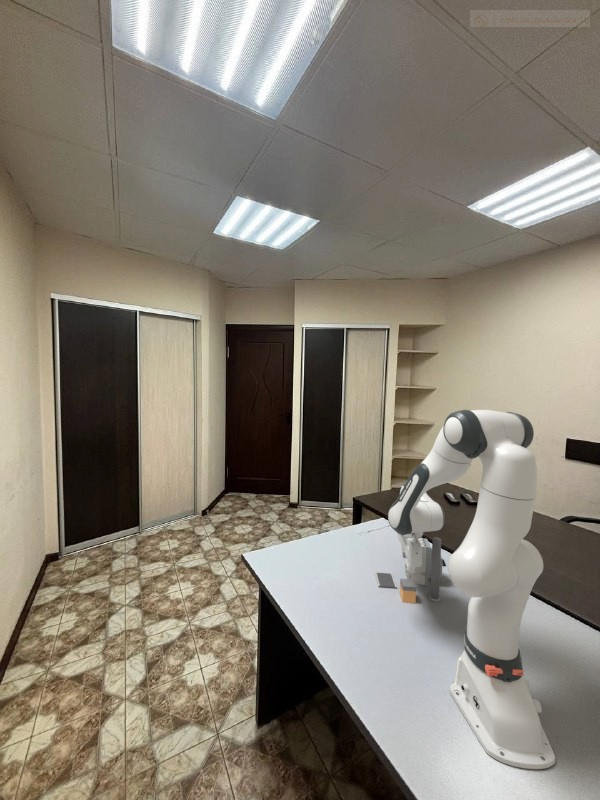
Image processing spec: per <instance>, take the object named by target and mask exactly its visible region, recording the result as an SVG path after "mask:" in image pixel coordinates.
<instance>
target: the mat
mask: <svg viewBox="0 0 600 800" xmlns="http://www.w3.org/2000/svg"><path fill="white" fill-rule="evenodd" d="M374 575H375V580H376V583H377V586H378V588H381V589H382V588H386V589H396V590H397V589H398V586H397V584H396V583H397V582H396V580H395V578H394V575H393V573H388V572H387V573H386V572H374Z"/></svg>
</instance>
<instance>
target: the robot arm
mask: <svg viewBox="0 0 600 800" xmlns="http://www.w3.org/2000/svg"><path fill="white" fill-rule="evenodd" d="M534 432H535V431H534V427H533V425H532V423H531V421H530V420H529V419H528V418H527V417H526V416H524V415H523V414H519V413H516V412H511V411H498V410H491V409H473V410H472V409H471V410H470V409H469V410H468V409H462V410H460V409H459V410H457V411H453V412H451V413H450V414H449V415H448V416H447V417H446V418H445V420H444V423H443V426H442V427H441V428H440V430H439V432H438V435H437V436H436V437H435V438H436V439H435V441H434V443H433V446H432V448H431V450H430V452H429V453H428V454H427V456H426V457H425V458H424V459H423V460H422V462H421V463H419V464H418V465H417V466H416V467H415V468H414V469H413V470H412V472H411V473H410V475H409V477H408V479H407V481H406V482H405V483H404V484H402V485H401V488H400V491H399V495H398V497H397V499H396V500H395V501H394V502H393V503H391V505H390V506H389V509H388V512H387V520H388V523H389V526H390V527H391V529H393V531H395V532H396V533H397V538H398V541H399V543H400V546H401V556H402V559H407V561H409V564H410V565H409V567H408V568H409V569H408V570H409V572H410V573H415V568H416V567H421V565H422V546H421V543H420V542H419V540H418V539H419V537H421V536H422V537H423V536H424V533H427V532H437V531H440V530H442V529H443V528H444V525H445V521H446V515H445V514H446V513H445V511H444V508H443V507H442V506H441V504H439V503H438V502H437V501H436V500H435V501H434V499H432V498H431V497H430V495H429V494H428V493H427V491H429V490H431V489H433V488H435V487H438V486H441V485H443V484H447V483H452V482H454V481H457V480H460V479H461V478H462V477H463V476H464V475H465V474H466V473H467V471H468V470H469V468H470V466H471V463H472V461H473V460H474V459H476V458H479V460H480V461H481V464H482V473H481V474H482V475H481V481H480V486H479V493H478V498H477V506H476V511H475V514H474V518H473V520H472V523H471V525H470V526H469V528H468V531H467V532H466V535H465V537H464V538H463V540H462V542H461V544H460V545H459V547H458V548H457V549H456V550H455V551H454V552H453V553H452V554H451V555H450V556H449V558H448V561H447V562H448V563H447V569H448V574H449V577H450V579H451V581H452V583H453V585H454V586H455V587H456V589H458V591H459V592H461V594H464V596H467V597H470V599H469V601H468V605H467V617H466V618H467V619H466V620H467V622H466V629H465V630H464V631H465V632H464V635H463V648H464V650H463V652H462V653H461V655H460V656H459V657H458V658H457V664H456V672H455V677H454V682H452V683H451V684H450V686H449V694H450V696H451V697H452V698H453V700H454V701H455V704H456V705H457V707H458V708H459V710H460V711H461V713H462V715H463V716H464V718H465V720H466V722H467V723H468V725H469V726H470V728H471V730H472V732H473V733H474V735H475V737H476V738H477V740H478V741H479V743H480V745H481V747H482V748H483V749H484V751H485V752H486V754H488V755H489V756H490V757H492V758H493V759H495V760H497V761H499V762H500V763H504V764H505V765H509V766H512V767H516V768H522V769H529V770H542V769H548V768H550V767H552V766H553V765H555V764H556V755H555V752H554V750H553V748H552V746H551V744H550V741H549V739H548V737H547V735H546V732H545V730H544V728H543V726H542V723H541V719H540V716H539V714H542V709H543V708H542V705H541V703H540V700H538V699H534V698H533V697H532V694H531V692H530V689H529V688H530V682H529V680H528V679H526V678H525V674H524V673H525V670H524V668H523V660H522V654H521V651H520V646H519V645H520V637H521V635H520V633H521V624H522V618H523V615H524V612H525V609H526V607H527V604H528V603H527V602H528V600H529V598H530V595H531V592H532V589H533V587H534V585H535V583H536V582H537V579H538V578H539V577H540V576H541V574H542V573H543V570H544V561H543V557H542V555H541V553H540V552H539V550H538V549H537V548H536V546H535V545H533V544H532V543H531V542H530V541H528V540H526V539H524V538H525V537H526V536H527V535H528V534H529V531H530V530H531V526H532V519H533V513H534V507H535V500H536V494H537V484H538V480H537V479H538V473H537V472H538V470H537V459H536V456H535V455H534V453H533V452H532V451H531V450H530V449H528V447H529V446H530V445H531V444H532V443H533V440H534Z"/></svg>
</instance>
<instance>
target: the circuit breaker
mask: <svg viewBox="0 0 600 800" xmlns="http://www.w3.org/2000/svg"><path fill="white" fill-rule="evenodd" d="M418 540H419V542H420V543H421V546H422V565H421V567H416V568H415V573H410V572H409V570H408V569H409V568H408V567H409V565H410V564H409V561H408V560H405V561H404V562H405V564H404V565H405V567H404V568H405V569H404V570H405V571H404V572H405V573H404V574H405V579H412V580H413V581H414V583H415V585H422V586H423V585H425V586H430V580H431V562H432V546H431V545H430V542H429V540H428V538H423V537H422V538H419V539H418ZM443 567H447V565H446V561H445V559H443V557H442V555H441V562H440V579H441V578H443Z"/></svg>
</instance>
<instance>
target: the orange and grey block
mask: <svg viewBox="0 0 600 800" xmlns="http://www.w3.org/2000/svg"><path fill="white" fill-rule="evenodd" d="M399 582H400V583H399V596H400V599H401V601H402V603H407V604H416V598H417V586H416V584H415V583H414V581H413V580H412V579H407V578H400V579H399Z"/></svg>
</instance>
